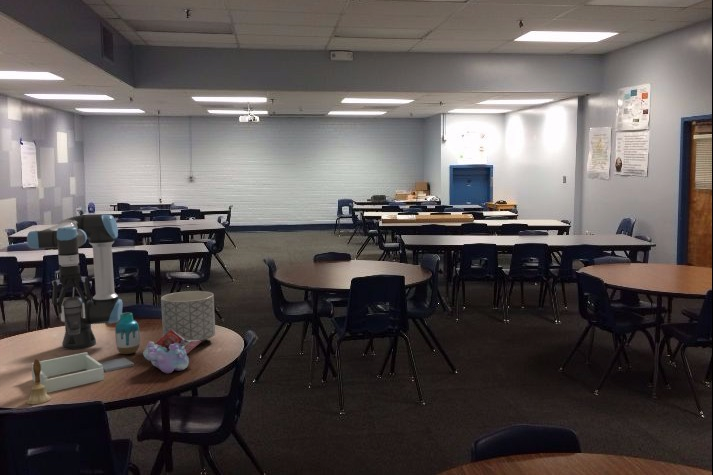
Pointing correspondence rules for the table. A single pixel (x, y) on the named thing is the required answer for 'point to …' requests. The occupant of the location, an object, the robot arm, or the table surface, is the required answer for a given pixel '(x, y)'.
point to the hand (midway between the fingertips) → (73, 319)
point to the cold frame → (66, 366)
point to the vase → (127, 334)
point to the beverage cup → (72, 314)
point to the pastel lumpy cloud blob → (170, 352)
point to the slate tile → (116, 364)
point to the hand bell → (38, 387)
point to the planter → (189, 314)
